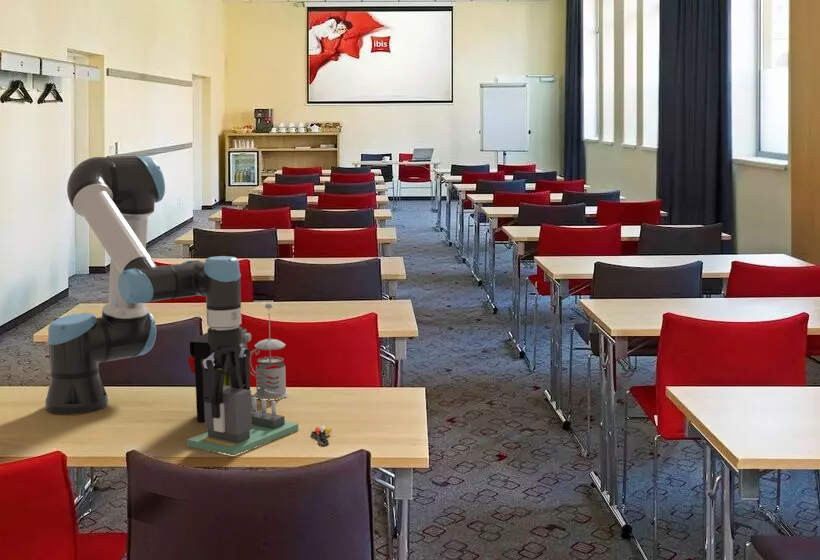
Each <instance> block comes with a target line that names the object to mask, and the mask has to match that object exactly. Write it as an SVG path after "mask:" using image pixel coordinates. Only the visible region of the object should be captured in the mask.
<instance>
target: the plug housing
mask: <svg viewBox="0 0 820 560" xmlns="http://www.w3.org/2000/svg"><path fill="white" fill-rule="evenodd" d="M251 394H252V391H251V389H250V390H246V389H240V388H235V387H230V386H225V385H224V386H223V393H222V400H221V403H224V414H225V432H224V433H229V434H233V435H239V434H241V433H244V432H246V431H249V430H252V403H251ZM215 398H216V397H215ZM204 413H205V423H204V428H205V429H207V430H208V429H211V430H214V418H212V409H211V403H207V402H204Z"/></svg>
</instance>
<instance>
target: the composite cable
mask: <svg viewBox="0 0 820 560" xmlns="http://www.w3.org/2000/svg"><path fill="white" fill-rule="evenodd" d="M332 428H333V427H332V426H328V427H327V425H326V424H324V425H322V426H321V428H320V427H319V426H318V425H317V426H316V427H315V430H314V431H313V430H312V431H311V433H310V436H311V437H312V438H314V439H316V440H317V439H318V440H319V441H318V446H320V447H328V446H330V443H329V440H328V439H327V438H326V436H327V435H328V434H330V433H331V432H332ZM315 434H317V435H315ZM322 441H323V442H322Z"/></svg>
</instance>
